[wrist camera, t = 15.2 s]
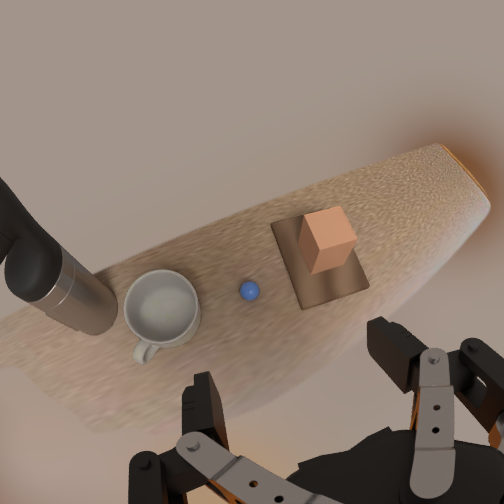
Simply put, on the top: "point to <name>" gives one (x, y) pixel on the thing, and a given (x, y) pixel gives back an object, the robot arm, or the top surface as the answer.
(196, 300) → the teacup
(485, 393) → the robot arm
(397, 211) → the top surface
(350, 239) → the peach colored cube
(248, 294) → the marble
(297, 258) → the board
